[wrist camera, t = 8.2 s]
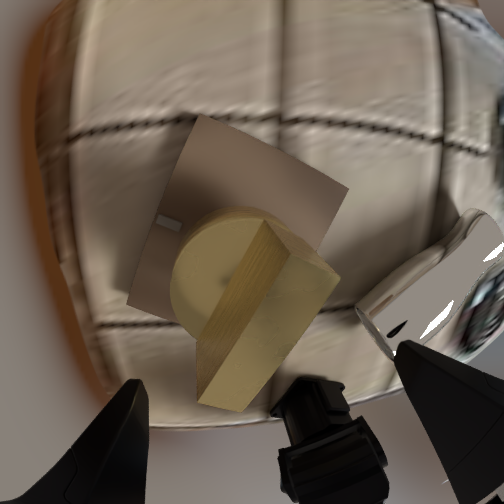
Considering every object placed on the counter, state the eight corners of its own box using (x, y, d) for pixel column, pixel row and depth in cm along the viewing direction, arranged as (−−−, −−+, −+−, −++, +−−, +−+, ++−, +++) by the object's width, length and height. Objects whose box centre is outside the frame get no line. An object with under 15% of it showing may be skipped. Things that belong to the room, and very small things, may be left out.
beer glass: (473, 259, 24) (376, 348, 25) (450, 205, 24) (343, 294, 25) (516, 267, 17) (407, 380, 18) (494, 201, 17) (372, 317, 18)
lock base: (256, 336, 24) (267, 373, 20) (130, 294, 20) (116, 328, 16) (339, 185, 20) (371, 197, 16) (200, 116, 17) (198, 106, 13)
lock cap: (209, 183, 14) (212, 216, 8) (321, 239, 16) (387, 301, 10) (151, 310, 16) (130, 400, 10) (253, 347, 18) (276, 433, 12)
